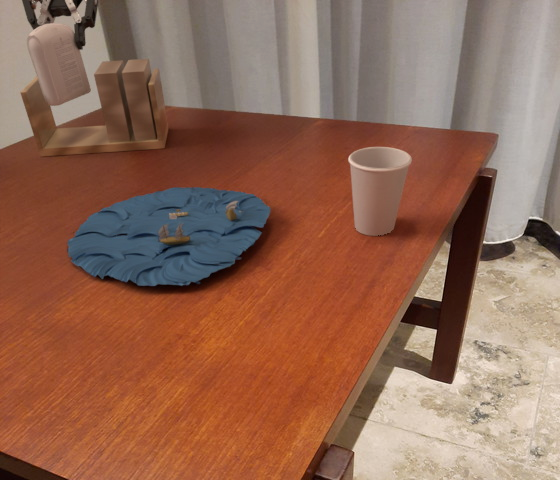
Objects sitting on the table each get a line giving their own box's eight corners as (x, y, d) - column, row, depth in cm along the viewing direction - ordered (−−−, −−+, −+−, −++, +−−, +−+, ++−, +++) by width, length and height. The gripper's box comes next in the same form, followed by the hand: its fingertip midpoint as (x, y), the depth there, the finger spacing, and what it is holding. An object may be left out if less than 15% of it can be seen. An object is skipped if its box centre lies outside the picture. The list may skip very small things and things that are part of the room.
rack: (40, 156, 107) (16, 80, 98) (54, 136, 116) (33, 64, 107) (164, 148, 108) (151, 71, 99) (168, 128, 117) (157, 57, 108)
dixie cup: (335, 232, 79) (337, 162, 73) (359, 210, 84) (363, 142, 78) (390, 245, 76) (398, 173, 69) (412, 220, 81) (421, 151, 74)
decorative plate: (69, 321, 67) (54, 285, 63) (71, 215, 89) (60, 183, 85) (302, 271, 71) (300, 235, 68) (249, 181, 93) (246, 150, 90)
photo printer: (78, 91, 111) (56, 19, 103) (95, 91, 109) (74, 18, 101) (43, 106, 104) (17, 30, 96) (61, 107, 102) (36, 29, 94)
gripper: (9, -54, 100) (15, 36, 99) (90, -58, 100) (96, 32, 99) (27, -21, 107) (32, 62, 106) (101, -25, 108) (107, 58, 107)
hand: (63, 47), depth 103 cm, fingers closed on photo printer, 5 cm apart
